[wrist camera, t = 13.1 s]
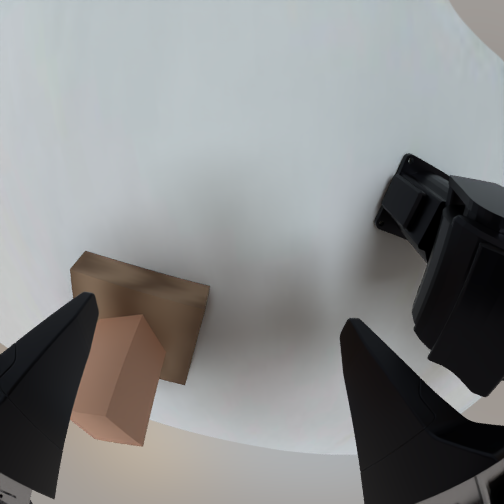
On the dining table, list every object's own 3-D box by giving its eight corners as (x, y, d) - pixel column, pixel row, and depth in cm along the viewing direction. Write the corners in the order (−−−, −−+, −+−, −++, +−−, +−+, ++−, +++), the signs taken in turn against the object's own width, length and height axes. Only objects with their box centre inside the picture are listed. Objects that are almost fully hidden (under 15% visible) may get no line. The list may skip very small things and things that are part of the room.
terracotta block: (142, 314, 23) (105, 416, 15) (166, 352, 26) (143, 446, 17) (98, 319, 24) (57, 408, 15) (123, 354, 26) (95, 439, 18)
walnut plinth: (209, 286, 25) (205, 309, 23) (189, 364, 31) (185, 385, 29) (85, 250, 23) (70, 269, 21) (92, 335, 29) (83, 353, 27)
